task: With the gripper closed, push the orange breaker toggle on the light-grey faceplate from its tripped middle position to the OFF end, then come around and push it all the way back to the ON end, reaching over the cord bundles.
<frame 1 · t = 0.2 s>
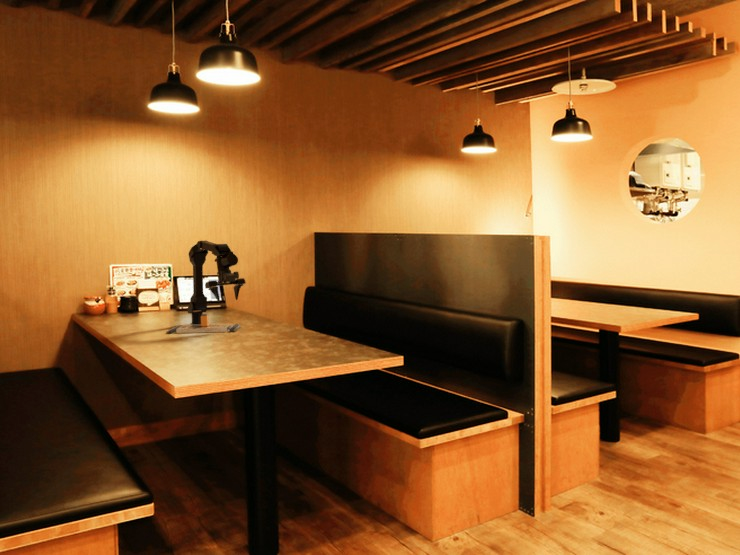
hand: (227, 300, 305), 15 cm above the table, tool pointing down, fingers open, 9 cm apart
cord far: (233, 329, 309), on the table
faceplate: (205, 330, 308), on the table
cord near: (175, 330, 308), on the table
breaker toggle: (204, 319, 308), point 5 cm above the table, slide at 5.0 cm
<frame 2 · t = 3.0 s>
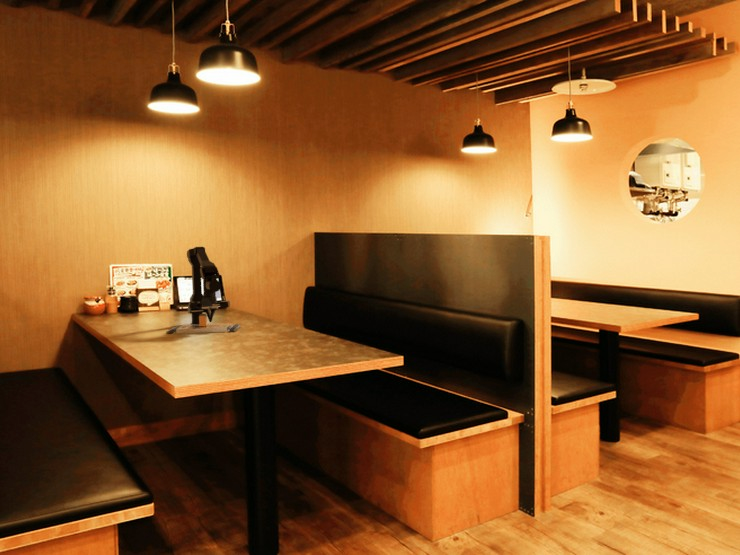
hand: (210, 322, 308), 4 cm above the table, tool pointing down, fingers closed
breaker toggle: (203, 319, 308), point 5 cm above the table, slide at 4.2 cm, touching gripper
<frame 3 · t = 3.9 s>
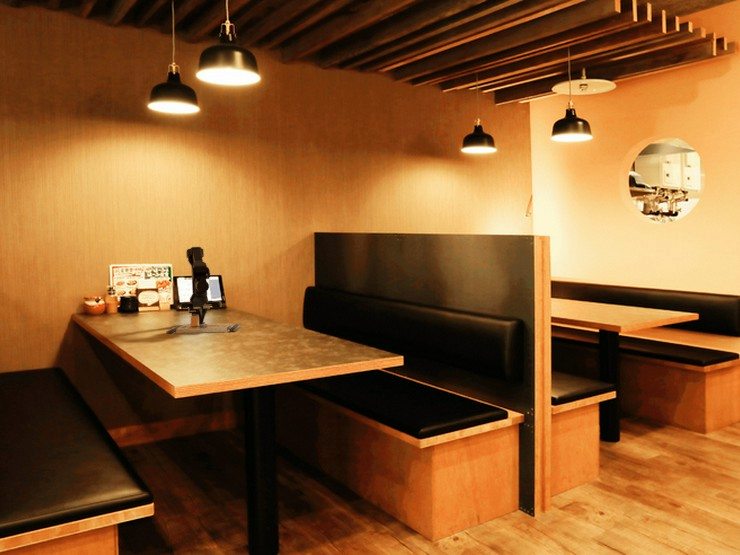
hand: (202, 322, 308), 4 cm above the table, tool pointing down, fingers closed
breaker toggle: (194, 320, 308), point 5 cm above the table, slide at 0.2 cm, touching gripper
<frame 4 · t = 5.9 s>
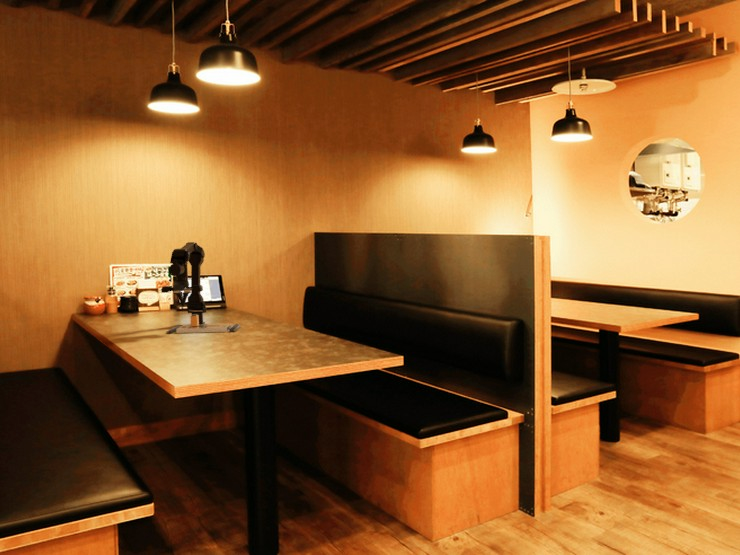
hand: (182, 306, 307), 12 cm above the table, tool pointing down, fingers closed
breaker toggle: (194, 320, 308), point 5 cm above the table, slide at 0.0 cm
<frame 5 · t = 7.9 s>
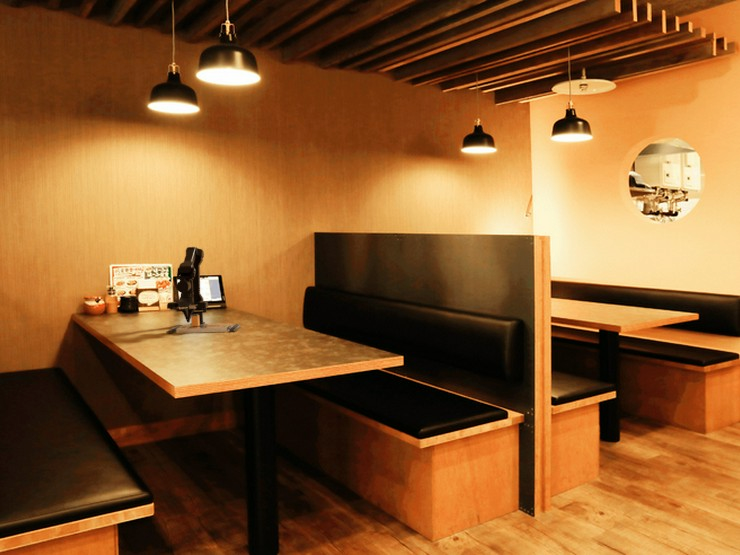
hand: (188, 322, 308), 4 cm above the table, tool pointing down, fingers closed
breaker toggle: (195, 320, 308), point 5 cm above the table, slide at 0.4 cm, touching gripper
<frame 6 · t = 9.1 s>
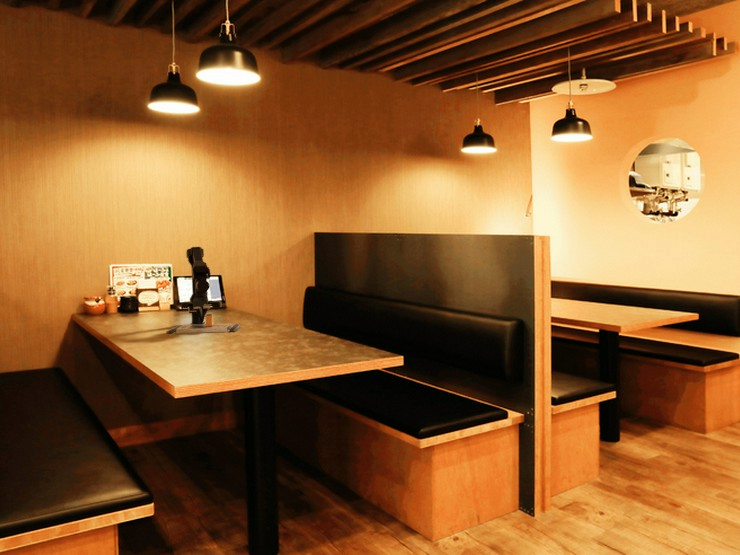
hand: (202, 322, 308), 4 cm above the table, tool pointing down, fingers closed
breaker toggle: (209, 319, 308), point 5 cm above the table, slide at 7.3 cm, touching gripper
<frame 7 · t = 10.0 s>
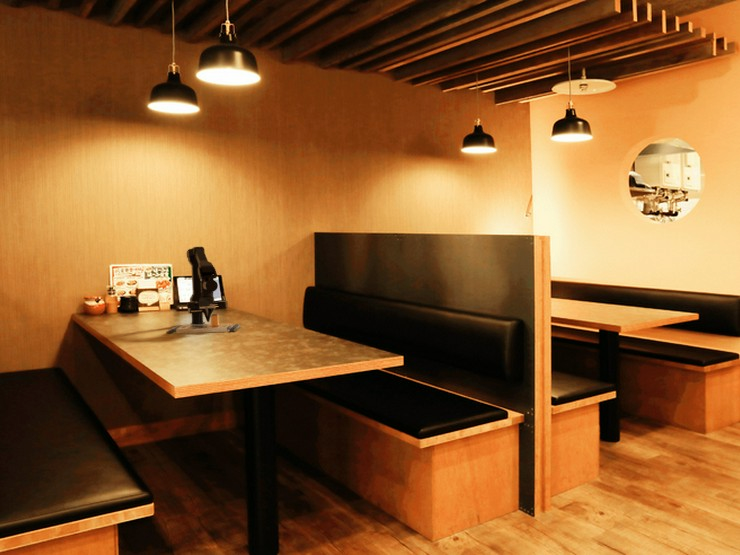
hand: (208, 321, 308), 4 cm above the table, tool pointing down, fingers closed
breaker toggle: (215, 319, 308), point 5 cm above the table, slide at 10.0 cm, touching gripper
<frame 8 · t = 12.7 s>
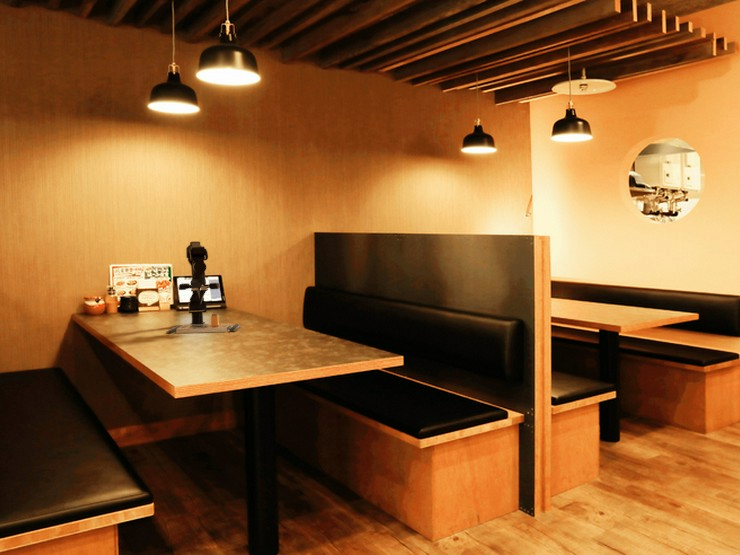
hand: (200, 303, 307), 13 cm above the table, tool pointing down, fingers closed
breaker toggle: (215, 319, 308), point 5 cm above the table, slide at 10.0 cm
at the end: breaker toggle slide at 10.0 cm; breaker toggle touching nothing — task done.
